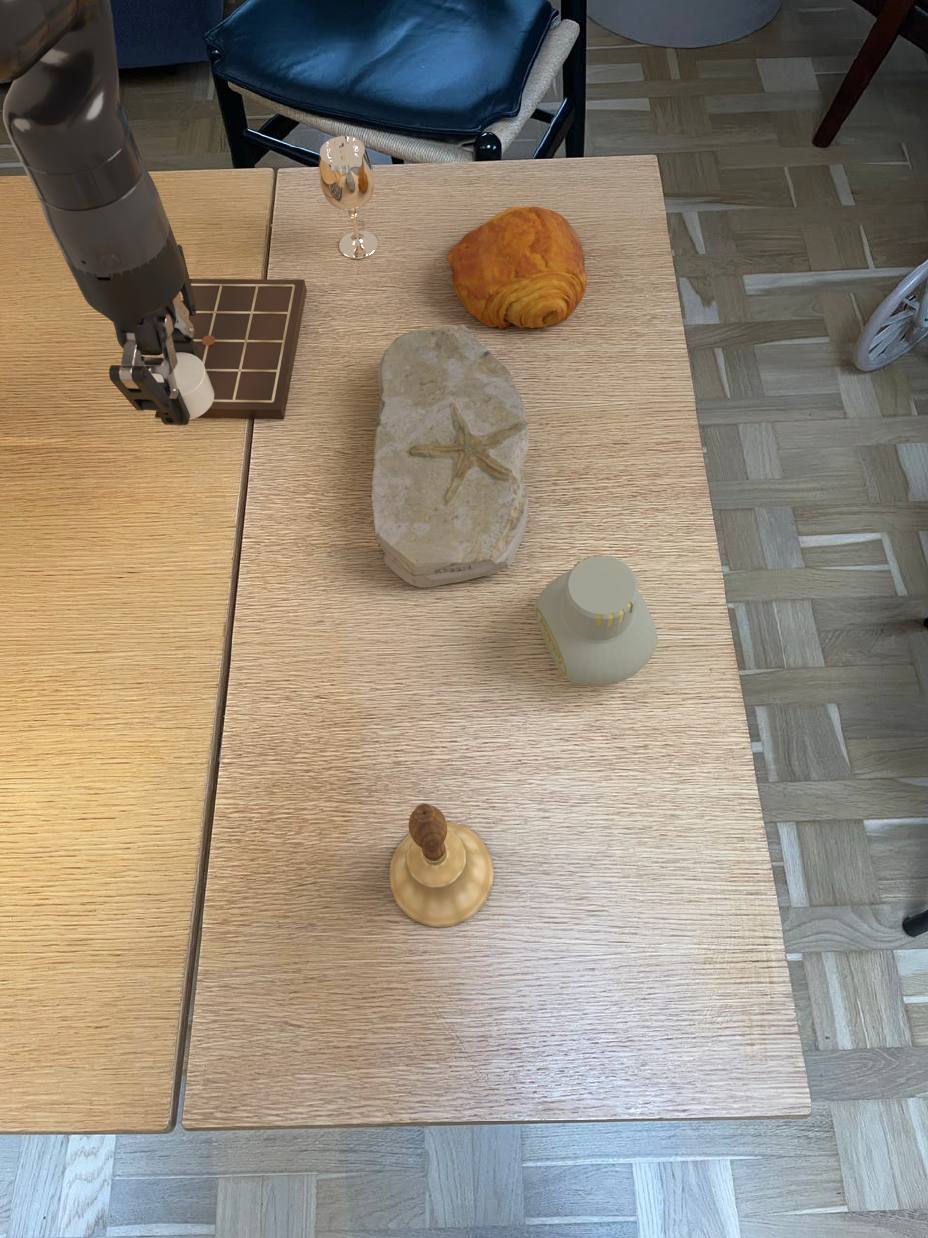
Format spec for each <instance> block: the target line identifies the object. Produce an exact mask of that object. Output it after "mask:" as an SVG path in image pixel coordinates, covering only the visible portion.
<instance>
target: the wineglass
mask: <svg viewBox="0 0 928 1238" xmlns="http://www.w3.org/2000/svg"><path fill="white" fill-rule="evenodd" d="M373 167H374V166H373V164H372V161H371V159H370V155H369V153H368V151H367V149H366V146H365V144H364V143H363V141H362V140H360V139H359V138H357V137H354V136H350V135H340V136H335V137H332V138H330V139H327V141H325V142H324V143H323V144H322V145H321V147H320V149H319V157H318V179H319V186H320V190H321V192H322V193H323V196H324V198H325V200H326V201H327V202H328V203H329V204H330V205H331V206H333V207H334V208H336V209H338V210H342V211H347V213H348V216H349V217H350V220H351V223H352V227H353V231H349V232H348V233H346V234H344V235H343V236H342V237H341V239H340V240H339V242H338V249H339V252H340V253H341V254H342V255H343V256H344V257H346V258H348V259H349V258H350V259H353V260H360V259H365V258H368V257H369V256H372V255H373V254H374V253H375V252H376V251H377V249H378V248H379V240H378V237H377V236H376V234H374V233H372V232H371V231H368V230H362V229H359V227H358V209H360V208H362V207H364V206H365V205H366V204H368V202H369V201H370V200H371V198H372V197H373V195H374V192H375V188H376V181H375V180H376V178H375V172H374V168H373Z"/></svg>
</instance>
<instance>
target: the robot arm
mask: <svg viewBox="0 0 928 1238" xmlns="http://www.w3.org/2000/svg"><path fill="white" fill-rule="evenodd" d="M116 44H117V43H116V37H115V27H114V18H113V10H112V3H111V0H0V84H5V83H6V84H7V83H11V82H12V83H11V85H10V88H9V89H8V92H7V93H6V95H5V98H4V101H3V107H2V120H3V123H4V128H5V129H6V132H7V135H8V138H9V140H10V143H11V144H12V146H13V149H14V151H15V153H16V155H17V157H18V159H19V161H20V162H21V165H22V167H23V169H24V171H25V173H26V175H27V177H28V179H29V181H30V183H31V185H32V187H33V189H34V191H35V193H36V195H37V198H38V200H39V204H40V206H41V210H42V212H43V216H44V219H45V221H46V224H47V226H48V228H49V230H50V232H51V234H52V236H53V238H54V240H55V243H56V244H57V246H58V248H59V251H60V252H61V254H62V256H63V259H64V260H65V263H66V264H67V266H68V269H69V270H70V272H71V274H72V276H73V279H74V280H75V282H76V284H77V286H78V288H79V290H80V292H81V295H82V296H83V298H84V300H85V302H87V304H88V305H89V306H90V307H91V308H93V310H95V311H96V312H98V313H99V314H101V315H102V316H103V317H106V318H107V319H108V320H110V321H111V322H112V323H113V327H114V331H115V335H116V340H117V342H118V344H119V346H120V347H121V348H122V355H121V362H120V364H111V365H110V366H109V369H108V376H109V380H110V381H111V382H112V384H113V385H114V386H115V387H116V388H117V390H118V391H119V392H120V393H121V394H122V395H123V396H124V397H125V399H126V400H127V401H128V402H129V403H130V404H131V406H132V407H133V408H134V409H135V410H136V411H140V412H143V411H154V412H156V411H157V412H158V414H159V416H160V417H159V418H160V420H161V422H162V424H164V426H165V425H166V426H187V425H189V423H190V420H189V419H190V414H189V412H188V409H187V407H186V405H185V402H184V400H183V398H182V395H181V393H180V391H179V389H178V388H177V384H176V379H175V375H174V369H175V368H176V366H177V364H178V361H177V356H176V353H177V352H184V353H189V354H192V355H195V356H196V357H198V358H199V359H200V360H201V358H200V356H199V353H198V351H197V348H196V345H195V343H194V340H193V336H194V327H193V324H192V323H191V321H190V320H189V318H190V316H195V315H196V310H197V307H196V304H195V299H194V295H193V291H192V287H191V282H190V279H191V278H190V274H189V270H188V267H187V262H186V259H185V258H186V257H185V253H184V250H183V246H182V245H181V244H178V243H177V240H176V237H175V235H174V232H173V229H172V226H171V224H170V223H171V222H170V220H169V218H168V215H167V213H166V210H165V207H164V204H163V202H162V199H161V196H160V194H159V191H158V189H157V186H156V183H155V182H154V180H153V178H152V176H151V174H150V173H149V171H148V169H147V167H146V165H145V163H144V161H143V158H142V156H141V153H140V150H139V148H138V145H137V142H136V140H135V137H134V134H133V131H132V129H131V126H130V124H129V121H128V118H127V115H126V113H125V111H124V107H123V106H122V102H121V94H120V93H121V92H120V72H119V71H120V70H119V63H118V54H117V53H118V52H117V45H116ZM180 293H181V294H180ZM181 296H182V299H181ZM161 355H163V356H164V358H161V357H159V356H161ZM156 356H157V357H156ZM163 356H162V357H163ZM152 374H160V375H162V377H163V380H164V382H157V381H156V379H155V378H154V377H153V375H152Z"/></svg>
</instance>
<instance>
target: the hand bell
mask: <svg viewBox="0 0 928 1238" xmlns="http://www.w3.org/2000/svg"><path fill="white" fill-rule="evenodd" d="M446 819H447V818H446V817H445V815H444V813H443V812H442V810H441V809H439V808H438V807H436V806H434V805H431V804H430V803H426V802H425V803H420V804H418V805H417V806H416V807H415V808H414V809H413V811H412V812H411V814H410V816H409V819H408V831H409V833H408V834H407V835H406V836H405V837H404V838H403V839H402V840H401V842H400V843H399V844H398V846H397V847H396V849H395V851H394V853H393V855H392V857H391V860H390V865H389V870H388V871H389V872H388V875H389V876H388V879H389V886H390V891H391V894H392V897H393V899H394V900H395V902H396V904H397V905H398V907H399V908H400V910H401V911H403V912H404V914H405V915H406V916H408V917H409V918H410V919H412V920H413V921H415V922H417V923H419V924H422V925H424V926H426V927H427V926H428V927H433V928H448V927H453V926H457V925H459V924H461V923H464V922H466V921H467V920H469V919H471V918H472V917H473V916H475V915H476V914H477V913H478V912H479V911H480V910H481V909H482V908H483V907H484V905H485V904H486V902H487V900H488V899H489V896H490V894H491V892H492V889H493V885H494V877H495V868H494V862H493V857H492V855H491V853H490V850H489V848H488V846H487V845H486V843H485V842H484V841H483V839H482V838H481V836H479V835H478V834H477V833H476V832H474V831H473V830H472V829H470V828H468V827H466V826H464V825H463V824H459V823H456V822H453V821H447V820H446Z"/></svg>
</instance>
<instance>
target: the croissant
mask: <svg viewBox="0 0 928 1238" xmlns="http://www.w3.org/2000/svg"><path fill="white" fill-rule="evenodd" d="M585 258H586V257H585V252H584V249H583V246H582V242H581V240H580V237H579V235H578V233H577V232H576V231H575V229H574V227H573V226H572V225H571V223H570V222H569V221H568V219H566V218H565V217H564V216H563V215H562V214H561V213H559V212H556V211H554V210H552V209H549V208H544V207H540V206H534V205H532V206H523V207H522V206H511V207H508V208H506V209H504V210H503V211H500V212H498V213H497V214H495V215H493V216H492V217H491V218H489V219H488V220H487V221H486V222H485V223H483V224H481V225H480V226H478V227H477V228H476V229H473V230H471V231H469V232H466V234H465V235H463V237H462V238H461V239H460V241H458V242H457V243H456V244H455V245H454V246H453V247H452V248H451V249H450V250H449V252H448V253H447V256H446V261H447V262H448V263H449V265H450V272H451V273H452V275H451V277H452V279H451V280H452V285H453V288H454V291H455V294H456V295H457V297H458V299H459V300H460V302H461V303H462V305H463V307H464V309H465V310H466V311H467V312H468V314H470V315H471V316H473V317H474V318H476V319H477V320H478V321H479V322H481V323H482V324H483V325H486V326H487V327H489V328H496V327H498V328H499V329H500V330H503V329H505V328H509V326H510V325H512V324H513V325H514V326H516V327H518V328H521V329H523V328H530V329H535V328H546V327H548V326H553V325H557V324H559V323H563V322H565V321H567V320H568V318H570V317H571V315H572V314H573V313H574V312H575V310H576V309H577V307H578V306H579V305H580V303H581V302H582V299H584V296H585V293H586V289H587V284H588V273H587V271H586V265H585V262H586V260H585Z"/></svg>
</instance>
